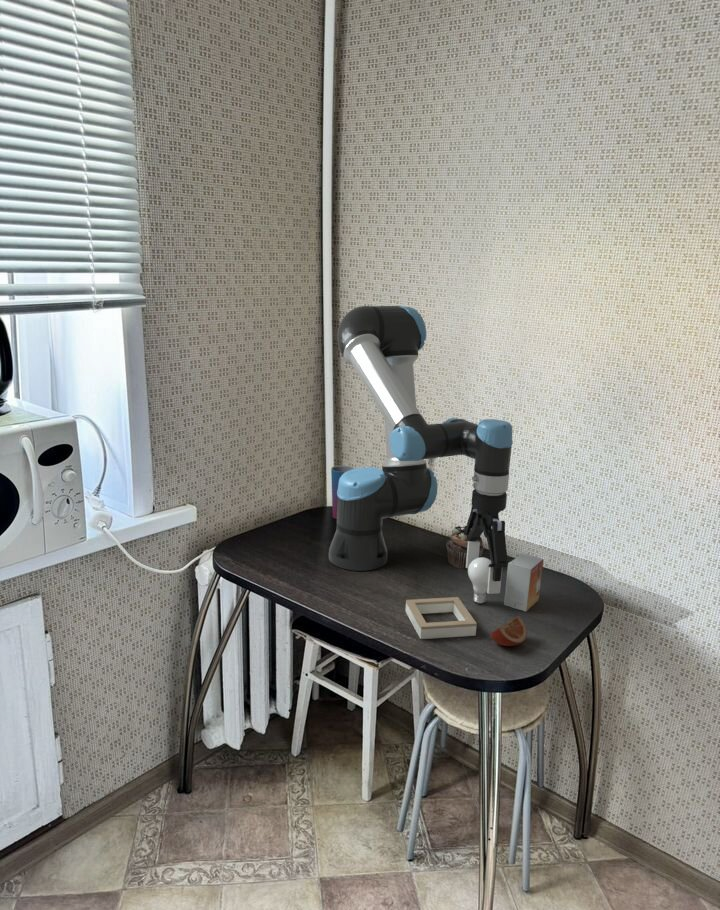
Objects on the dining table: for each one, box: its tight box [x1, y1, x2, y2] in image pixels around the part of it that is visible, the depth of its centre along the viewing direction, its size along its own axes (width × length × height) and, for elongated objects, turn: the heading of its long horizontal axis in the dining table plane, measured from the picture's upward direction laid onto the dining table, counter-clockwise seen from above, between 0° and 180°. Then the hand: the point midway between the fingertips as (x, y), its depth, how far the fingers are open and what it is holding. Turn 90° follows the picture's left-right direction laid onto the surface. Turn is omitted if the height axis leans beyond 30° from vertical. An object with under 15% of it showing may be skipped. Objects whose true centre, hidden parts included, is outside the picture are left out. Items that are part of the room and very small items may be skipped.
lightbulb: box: [467, 556, 491, 605], centre depth 162 cm, size 6×6×11 cm
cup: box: [330, 465, 355, 520], centre depth 212 cm, size 7×7×15 cm
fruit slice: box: [489, 615, 528, 647], centre depth 146 cm, size 8×7×5 cm
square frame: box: [405, 596, 478, 640], centre depth 153 cm, size 12×12×3 cm
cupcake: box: [445, 525, 484, 570], centre depth 184 cm, size 10×10×10 cm
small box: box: [503, 552, 545, 613], centre depth 163 cm, size 8×6×10 cm
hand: (482, 580), depth 162 cm, fingers open, 13 cm apart
